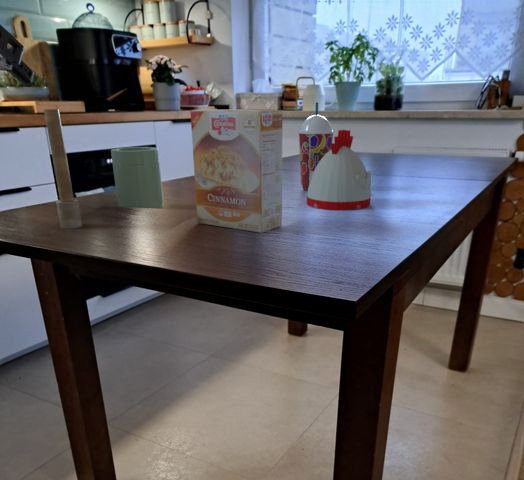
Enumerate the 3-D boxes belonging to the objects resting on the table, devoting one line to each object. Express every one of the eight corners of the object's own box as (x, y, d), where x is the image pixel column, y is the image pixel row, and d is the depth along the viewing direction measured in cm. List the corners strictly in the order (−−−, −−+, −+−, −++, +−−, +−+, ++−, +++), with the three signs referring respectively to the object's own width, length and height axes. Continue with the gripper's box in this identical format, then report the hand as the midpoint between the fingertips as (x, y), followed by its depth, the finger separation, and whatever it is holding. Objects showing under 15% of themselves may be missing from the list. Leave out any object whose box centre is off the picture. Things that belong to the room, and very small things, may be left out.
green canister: (110, 212, 108) (102, 151, 103) (131, 203, 116) (124, 146, 111) (152, 213, 106) (146, 151, 101) (170, 205, 114) (165, 147, 109)
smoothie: (327, 192, 127) (331, 102, 118) (294, 191, 129) (295, 102, 120) (333, 187, 134) (337, 102, 125) (301, 186, 136) (303, 102, 127)
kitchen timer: (380, 202, 115) (387, 129, 108) (352, 212, 105) (357, 133, 99) (326, 196, 123) (329, 127, 116) (294, 205, 113) (296, 130, 106)
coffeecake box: (196, 223, 98) (188, 109, 89) (219, 216, 103) (214, 108, 94) (261, 233, 90) (260, 110, 81) (283, 225, 95) (284, 109, 86)
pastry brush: (58, 238, 88) (34, 109, 80) (69, 233, 92) (47, 109, 83) (76, 239, 88) (54, 109, 79) (88, 234, 91) (68, 109, 82)
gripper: (-159, 16, 58) (-39, 105, 74) (-68, 10, 54) (41, 106, 69) (-139, -42, 59) (-24, 58, 75) (-48, -54, 55) (55, 55, 70)
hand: (7, 81), depth 72 cm, fingers open, 8 cm apart
